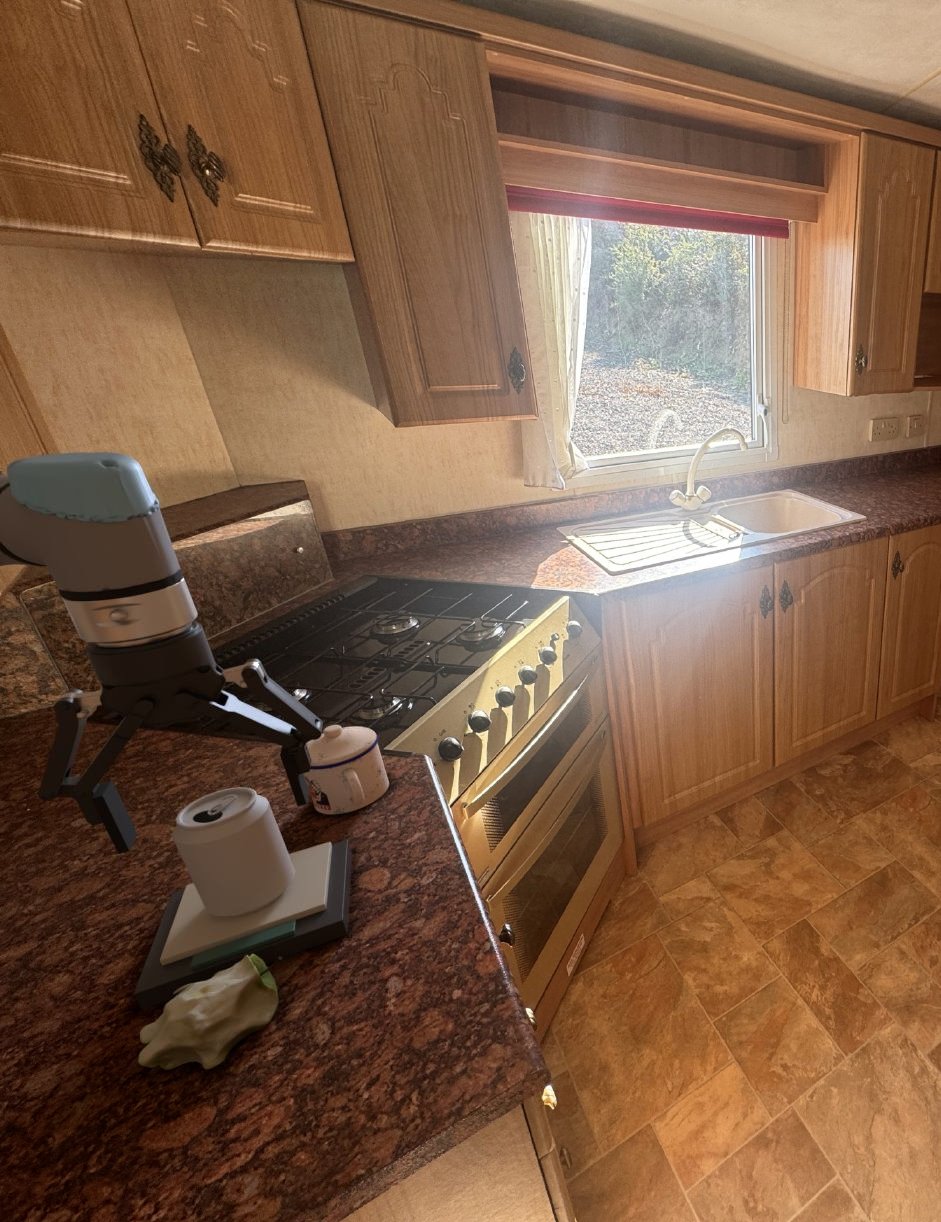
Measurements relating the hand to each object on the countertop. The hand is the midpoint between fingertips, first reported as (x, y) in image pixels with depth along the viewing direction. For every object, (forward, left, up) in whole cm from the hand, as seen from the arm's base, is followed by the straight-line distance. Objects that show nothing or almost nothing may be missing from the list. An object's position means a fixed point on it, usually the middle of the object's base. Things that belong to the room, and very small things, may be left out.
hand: (220, 820), depth 65 cm
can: (0, 0, -10) cm, 10 cm away
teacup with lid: (+8, +18, -14) cm, 24 cm away
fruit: (-1, -14, -14) cm, 20 cm away
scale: (0, -1, -14) cm, 14 cm away
